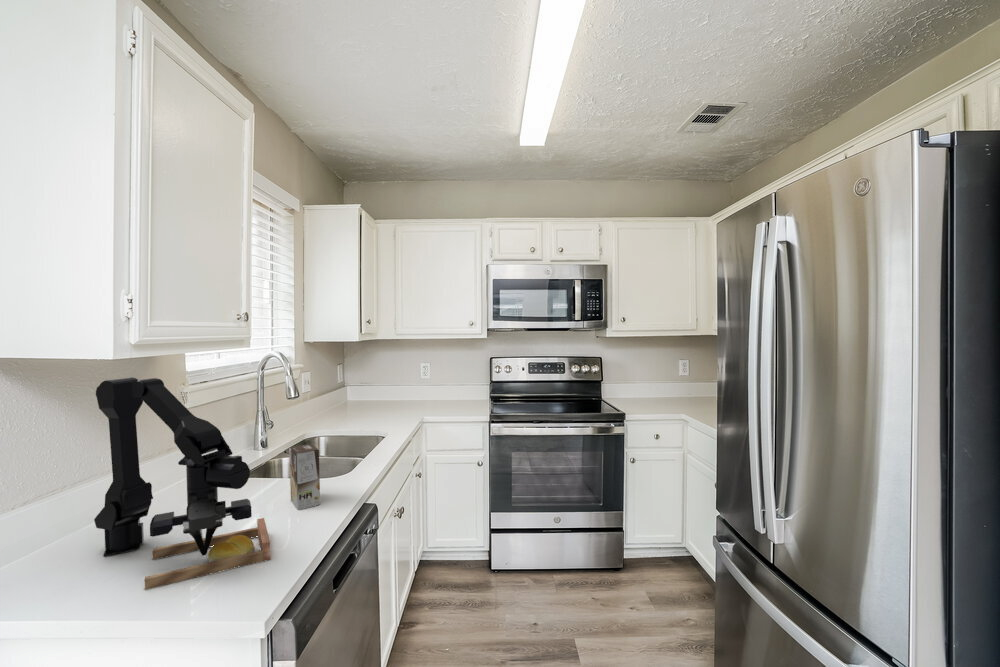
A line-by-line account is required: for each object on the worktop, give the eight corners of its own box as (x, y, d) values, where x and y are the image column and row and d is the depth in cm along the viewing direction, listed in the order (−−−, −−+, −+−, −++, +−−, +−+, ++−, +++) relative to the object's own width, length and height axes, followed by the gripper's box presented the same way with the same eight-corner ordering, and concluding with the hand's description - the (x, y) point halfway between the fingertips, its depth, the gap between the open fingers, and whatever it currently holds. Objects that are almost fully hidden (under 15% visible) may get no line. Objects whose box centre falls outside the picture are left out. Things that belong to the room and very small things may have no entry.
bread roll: (201, 560, 107) (200, 543, 107) (241, 544, 114) (240, 528, 114) (221, 570, 102) (220, 552, 102) (261, 553, 110) (260, 536, 110)
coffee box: (321, 505, 138) (320, 449, 138) (297, 510, 134) (296, 453, 134) (312, 495, 145) (310, 443, 145) (289, 500, 142) (288, 446, 141)
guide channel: (144, 589, 95) (144, 569, 95) (153, 557, 108) (152, 539, 108) (270, 559, 107) (270, 541, 106) (264, 533, 120) (264, 517, 120)
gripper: (145, 505, 95) (148, 583, 95) (252, 487, 104) (254, 558, 104) (151, 488, 104) (154, 559, 105) (249, 473, 114) (250, 539, 114)
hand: (204, 554), depth 107 cm, fingers closed
